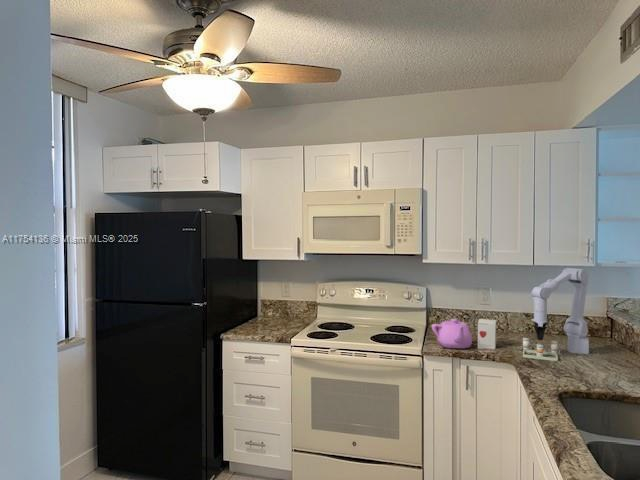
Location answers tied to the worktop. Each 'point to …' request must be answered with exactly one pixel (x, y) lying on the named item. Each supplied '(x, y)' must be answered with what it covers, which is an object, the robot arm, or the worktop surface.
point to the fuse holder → (543, 350)
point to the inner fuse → (554, 346)
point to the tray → (540, 356)
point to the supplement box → (486, 334)
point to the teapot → (453, 334)
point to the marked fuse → (539, 350)
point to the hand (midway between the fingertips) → (540, 338)
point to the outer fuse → (526, 343)
